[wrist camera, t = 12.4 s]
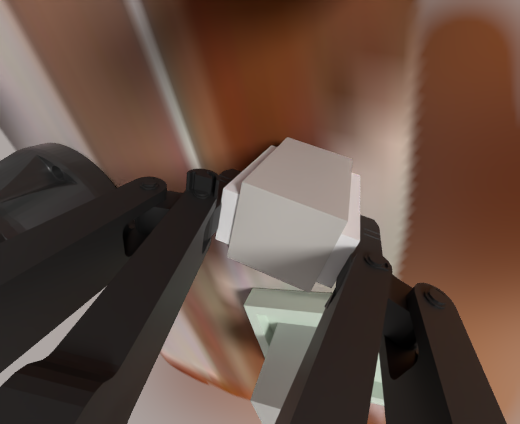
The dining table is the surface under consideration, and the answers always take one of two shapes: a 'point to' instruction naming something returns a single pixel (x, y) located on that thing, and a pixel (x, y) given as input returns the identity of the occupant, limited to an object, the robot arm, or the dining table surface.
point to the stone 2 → (280, 369)
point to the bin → (292, 319)
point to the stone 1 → (292, 213)
